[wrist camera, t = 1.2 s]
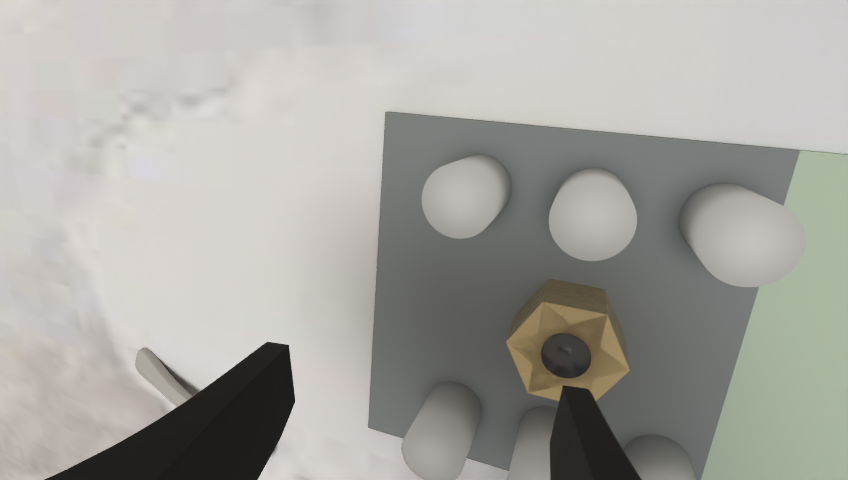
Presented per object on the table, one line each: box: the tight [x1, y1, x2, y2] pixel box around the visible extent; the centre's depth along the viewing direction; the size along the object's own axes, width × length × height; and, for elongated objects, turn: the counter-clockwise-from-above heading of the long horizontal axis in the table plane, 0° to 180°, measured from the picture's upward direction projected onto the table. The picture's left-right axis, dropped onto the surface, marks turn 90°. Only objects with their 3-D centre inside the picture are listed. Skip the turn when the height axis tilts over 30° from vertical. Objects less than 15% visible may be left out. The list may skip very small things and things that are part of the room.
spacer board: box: [368, 112, 848, 480], centre depth 20 cm, size 18×26×4 cm
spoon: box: [135, 348, 271, 457], centre depth 32 cm, size 3×12×2 cm, turn 66°
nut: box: [506, 279, 630, 401], centre depth 21 cm, size 4×5×3 cm
